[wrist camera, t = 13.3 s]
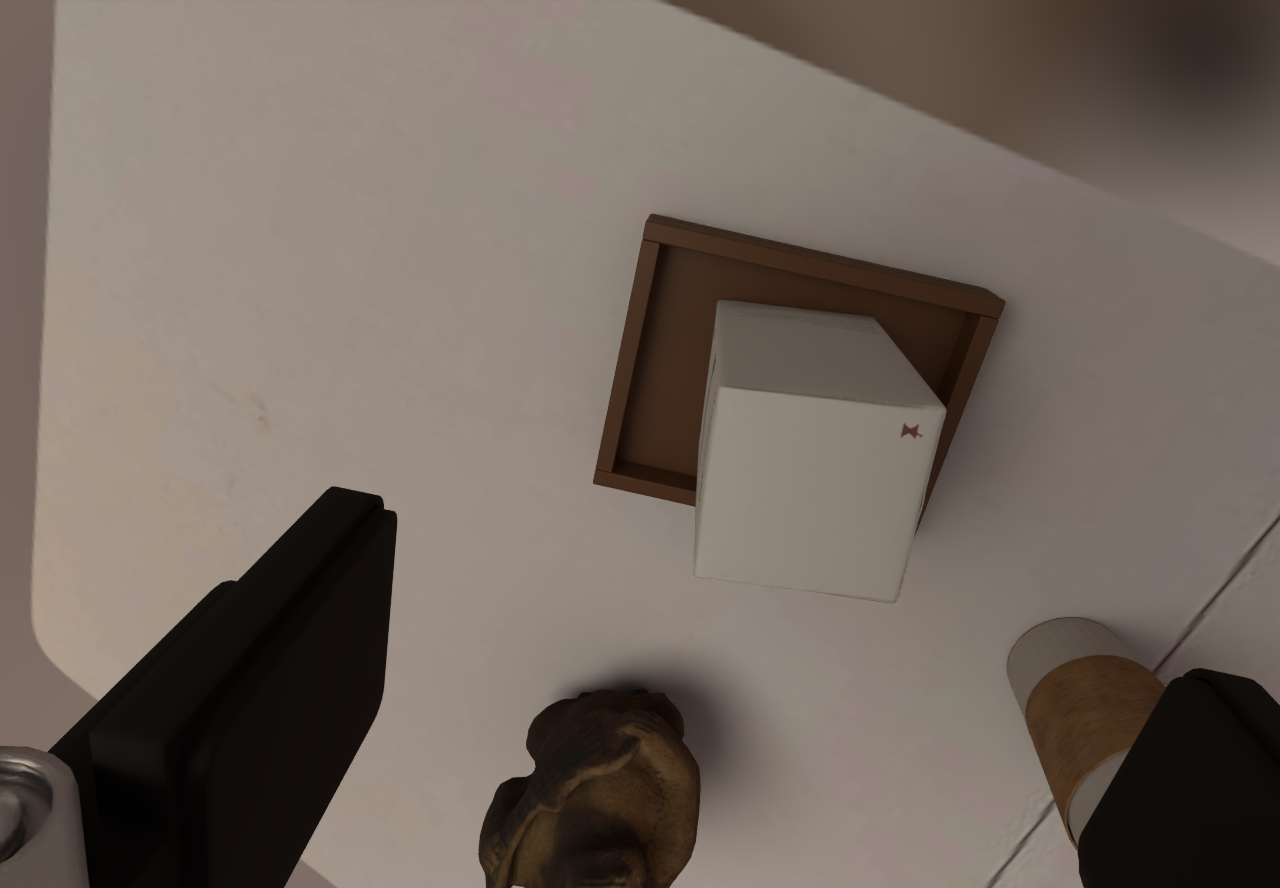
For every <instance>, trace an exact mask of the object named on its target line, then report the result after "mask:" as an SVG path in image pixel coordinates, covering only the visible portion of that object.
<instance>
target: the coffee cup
mask: <svg viewBox="0 0 1280 888" xmlns="http://www.w3.org/2000/svg"><path fill="white" fill-rule="evenodd" d="M1007 673H1008V678H1009V681H1010V684H1011V687H1012V689H1013V692H1014V694H1015V697H1016V699H1017V701H1018V704H1019V706H1020V709H1021V711H1022V714H1023V716H1024V718H1025V721H1026V724H1027V727H1028V730H1029V733H1030V736H1031V738H1032V741H1033V744H1034V746H1035V749H1036V752H1037V754H1038V757H1039V760H1040V762H1041V765H1042V768H1043V770H1044V773H1045V776H1046V778H1047V781H1048V784H1049V786H1050V789H1051V792H1052V794H1053V797H1054V800H1055V802H1056V805H1057V808H1058V810H1059V813H1060V816H1061V818H1062V821H1063V824H1064V826H1065V829H1066V832H1067V834H1068V837H1069V839H1070V841H1071V842H1072V844H1073V845H1074V847H1075V849H1076V850H1077V851H1078V842H1079V837H1080V835H1081V832H1082V831H1083V829H1084V827H1085V826H1086V824H1087V822H1088V820H1089V819H1090V817H1091V815H1092V814H1093V812H1094V810H1095V808H1096V807H1097V805H1098V803H1099V802H1100V800H1101V798H1102V797H1103V795H1104V793H1105V791H1106V790H1107V788H1108V786H1109V785H1110V783H1111V781H1112V779H1113V778H1114V776H1115V774H1116V773H1117V771H1118V769H1119V767H1120V766H1121V764H1122V762H1123V761H1124V759H1125V757H1126V756H1127V754H1128V752H1129V750H1130V749H1131V747H1132V745H1133V744H1134V742H1135V740H1136V738H1137V737H1138V735H1139V733H1140V732H1141V730H1142V728H1143V726H1144V725H1145V723H1146V721H1147V720H1148V718H1149V716H1150V715H1151V713H1152V711H1153V709H1154V708H1155V706H1156V704H1157V703H1158V701H1159V699H1160V697H1161V696H1162V694H1163V692H1164V691H1165V689H1166V687H1165V686H1164V685H1163V684H1162V683H1161V682H1160V681H1159V680H1158V679H1157V678H1156V677H1155V676H1154V675H1153V674H1152V673H1151V672H1150V671H1149V670H1148V669H1147V668H1145V667H1144V666H1143V665H1142V664H1141V663H1140V662H1139V661H1138V660H1137V659H1136V658H1135V657H1134V656H1133V654H1132V653H1131V652H1130V651H1129V650H1128V649H1127V648H1126V647H1125V646H1124V645H1123V644H1122V643H1121V642H1120V641H1119V640H1118V639H1117V638H1116V637H1115V636H1114V635H1113V634H1112V633H1111V632H1110V631H1109V630H1108V629H1106V628H1105V627H1103V626H1102V625H1100V624H1098V623H1095V622H1093V621H1090V620H1086V619H1081V618H1062V619H1055V620H1052V621H1048V622H1045V623H1043V624H1040V625H1038V626H1036V627H1034V628H1033V629H1031V630H1030V631H1028V632H1027V633H1026V634H1025V635H1023V636H1022V637H1021V638H1020V639H1019V640H1018V642H1017V643H1016V644H1015V646H1014V647H1013V649H1012V651H1011V653H1010V655H1009V659H1008V664H1007ZM1079 874H1080V877H1081V880H1082V884H1083V887H1084V888H1091V887H1090V885H1089V883H1088V881H1087V879H1086V877H1085V875H1084V873H1083V871H1082V868H1081V866H1080V863H1079Z"/></svg>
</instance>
